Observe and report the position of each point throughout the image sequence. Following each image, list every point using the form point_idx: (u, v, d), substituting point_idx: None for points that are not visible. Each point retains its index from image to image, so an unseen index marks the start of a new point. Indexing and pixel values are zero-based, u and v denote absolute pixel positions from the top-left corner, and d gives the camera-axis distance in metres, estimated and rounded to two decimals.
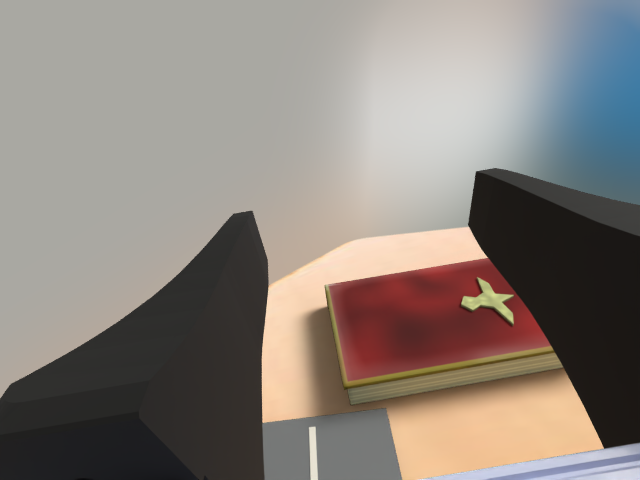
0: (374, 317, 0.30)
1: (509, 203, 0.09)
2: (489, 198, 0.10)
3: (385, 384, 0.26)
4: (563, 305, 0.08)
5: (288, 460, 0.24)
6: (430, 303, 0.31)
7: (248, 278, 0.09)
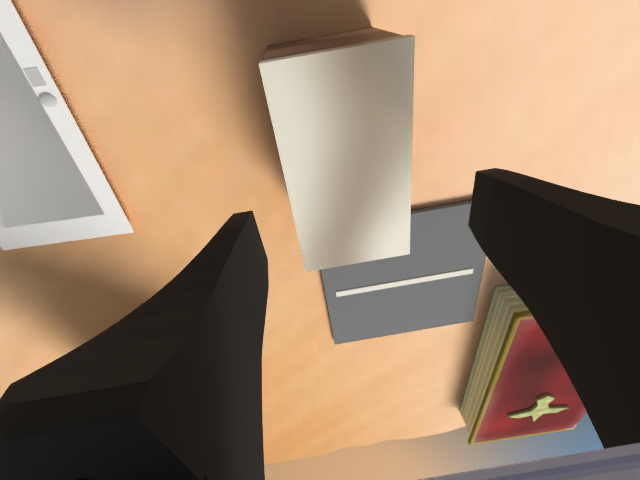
0: None
1: (509, 203, 0.09)
2: (489, 198, 0.10)
3: (501, 331, 0.27)
4: (563, 305, 0.08)
5: (446, 256, 0.24)
6: (564, 377, 0.29)
7: (248, 278, 0.09)
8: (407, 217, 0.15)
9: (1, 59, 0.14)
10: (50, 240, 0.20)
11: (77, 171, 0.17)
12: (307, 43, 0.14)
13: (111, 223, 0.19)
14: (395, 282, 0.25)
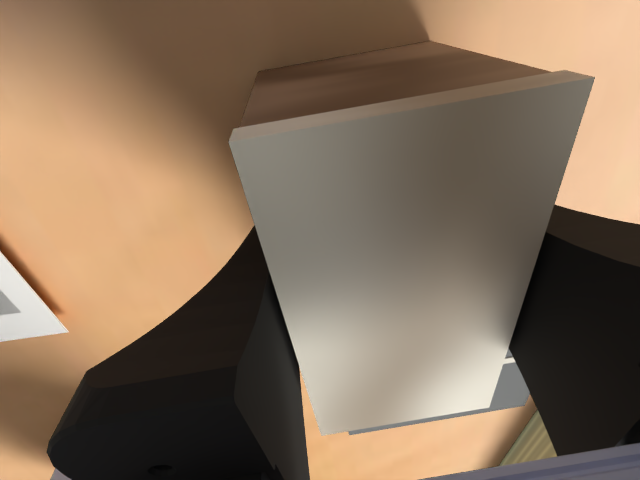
0: None
1: None
2: None
3: None
4: (519, 313, 0.08)
5: None
6: None
7: None
8: (496, 367, 0.09)
9: None
10: None
11: None
12: (328, 73, 0.08)
13: (33, 322, 0.13)
14: None
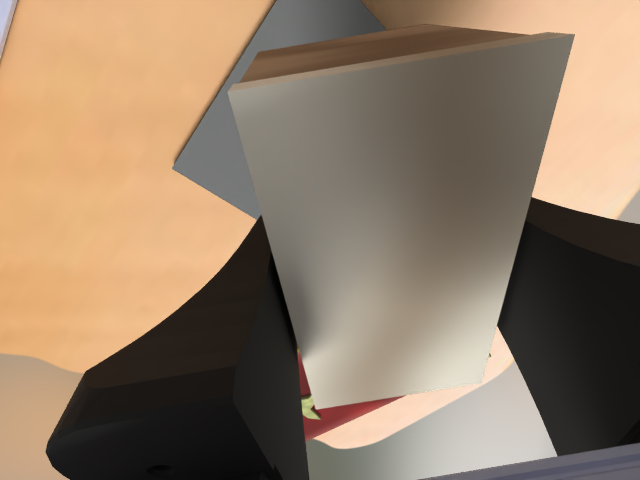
0: None
1: None
2: None
3: None
4: (520, 312, 0.08)
5: None
6: None
7: None
8: (487, 339, 0.09)
9: None
10: None
11: None
12: (325, 48, 0.08)
13: None
14: None
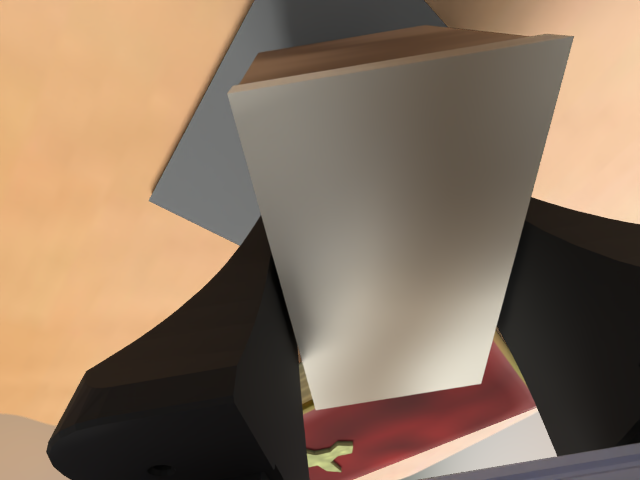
0: (461, 397, 0.20)
1: None
2: None
3: None
4: (519, 313, 0.08)
5: None
6: (389, 432, 0.22)
7: None
8: (487, 339, 0.09)
9: None
10: None
11: None
12: (325, 50, 0.08)
13: None
14: None
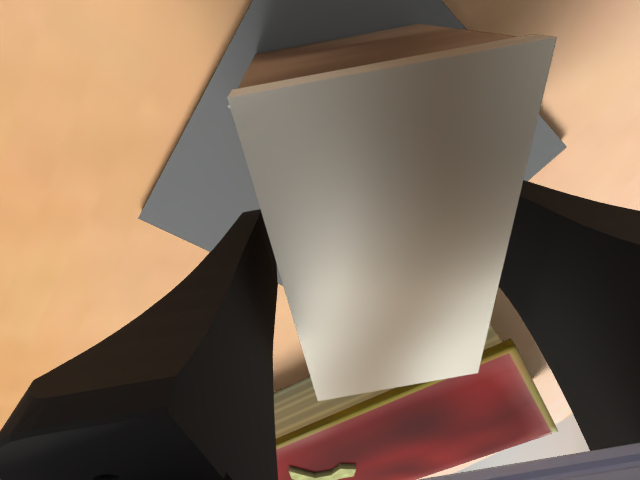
0: (473, 423, 0.19)
1: None
2: None
3: None
4: (550, 307, 0.08)
5: None
6: (394, 456, 0.21)
7: (260, 276, 0.09)
8: (483, 330, 0.09)
9: None
10: None
11: None
12: (320, 50, 0.08)
13: None
14: None
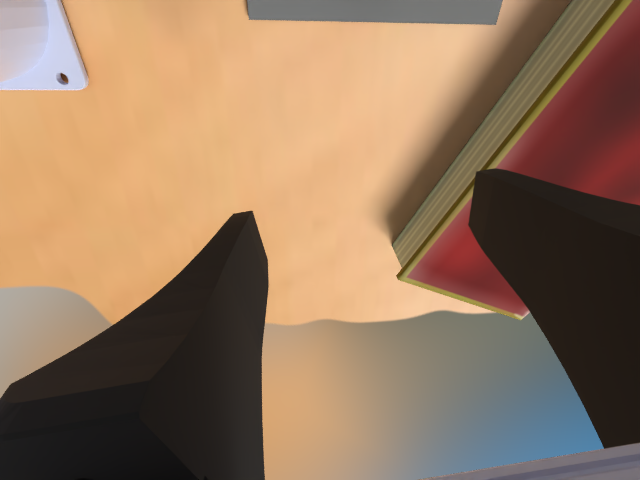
0: None
1: (509, 203, 0.09)
2: (489, 198, 0.10)
3: None
4: (563, 305, 0.08)
5: None
6: (613, 167, 0.18)
7: (248, 278, 0.09)
8: None
9: None
10: None
11: None
12: None
13: None
14: None
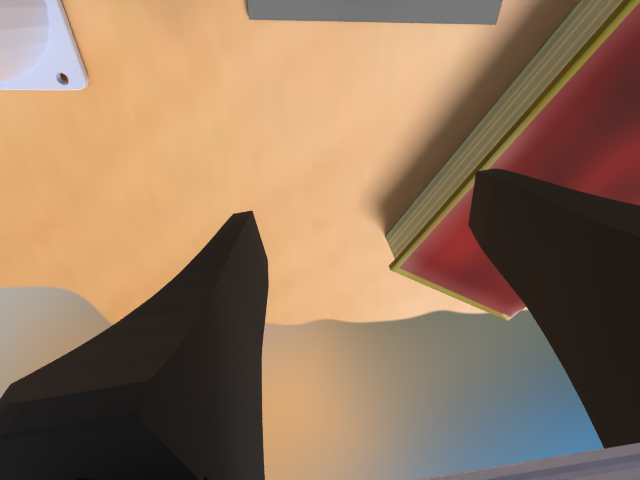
0: None
1: (509, 203, 0.09)
2: (489, 198, 0.10)
3: None
4: (563, 305, 0.08)
5: None
6: (612, 168, 0.18)
7: (248, 278, 0.09)
8: None
9: None
10: None
11: None
12: None
13: None
14: None
